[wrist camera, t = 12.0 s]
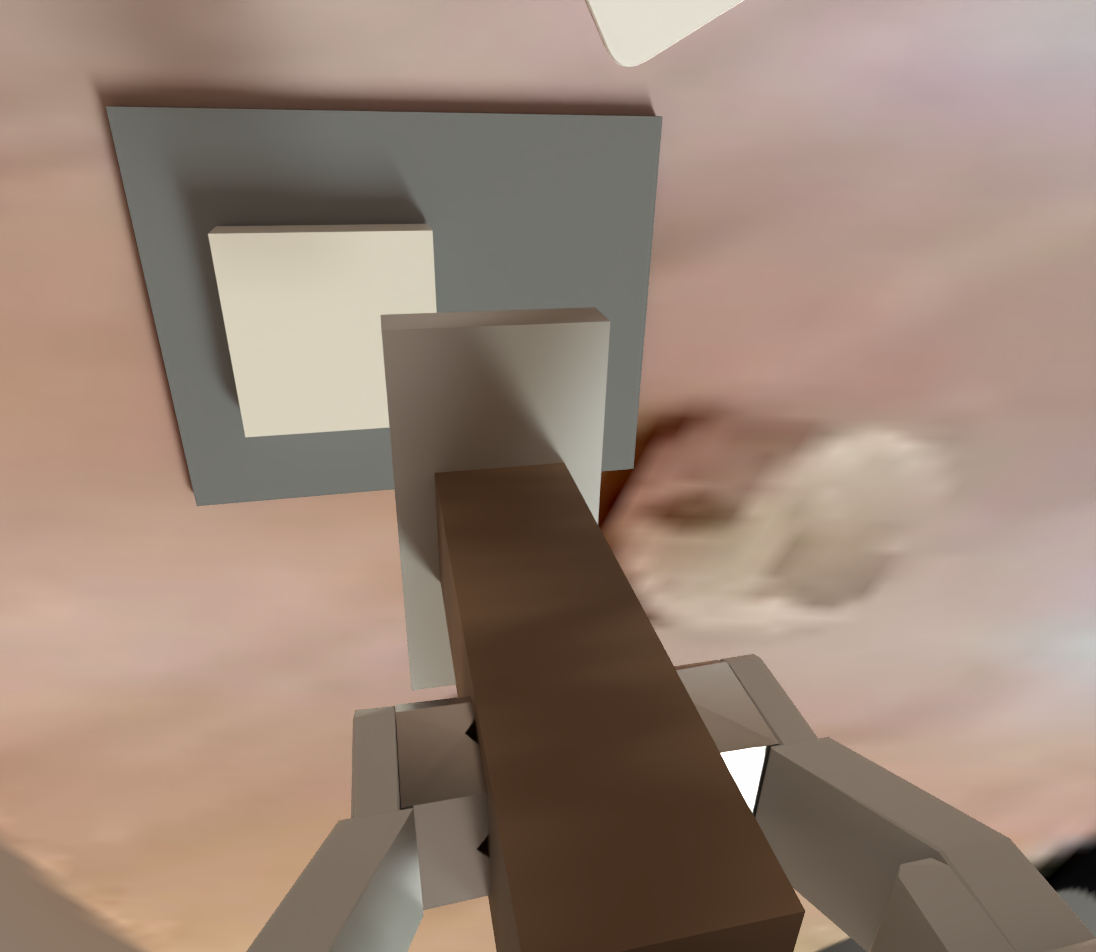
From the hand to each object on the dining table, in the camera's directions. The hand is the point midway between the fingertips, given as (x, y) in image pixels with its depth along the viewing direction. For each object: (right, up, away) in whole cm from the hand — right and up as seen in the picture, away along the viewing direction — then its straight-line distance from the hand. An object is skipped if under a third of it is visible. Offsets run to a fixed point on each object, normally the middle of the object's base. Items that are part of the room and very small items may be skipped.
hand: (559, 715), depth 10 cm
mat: (-5, +9, +18) cm, 21 cm away
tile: (-8, +8, +16) cm, 20 cm away
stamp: (-1, +3, +5) cm, 6 cm away
